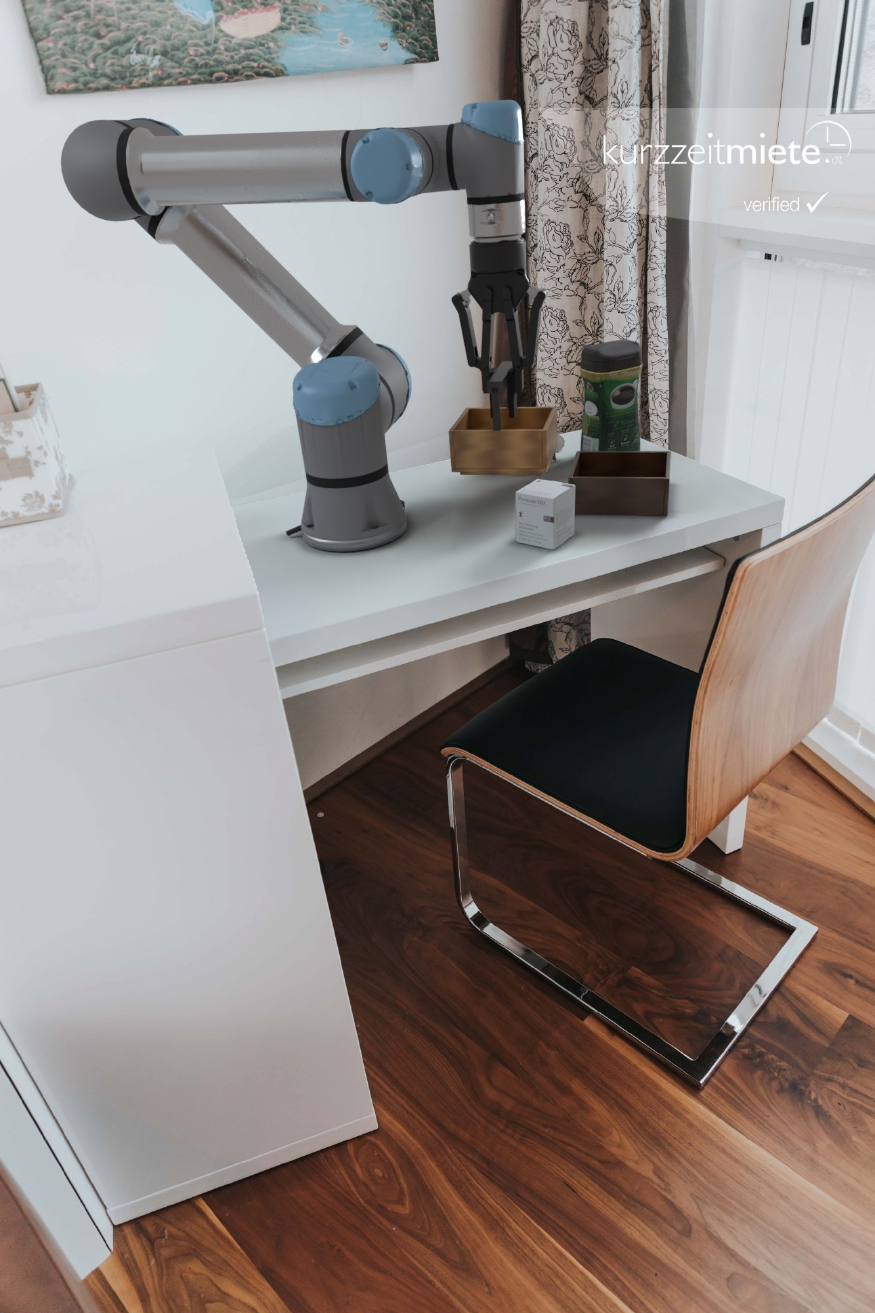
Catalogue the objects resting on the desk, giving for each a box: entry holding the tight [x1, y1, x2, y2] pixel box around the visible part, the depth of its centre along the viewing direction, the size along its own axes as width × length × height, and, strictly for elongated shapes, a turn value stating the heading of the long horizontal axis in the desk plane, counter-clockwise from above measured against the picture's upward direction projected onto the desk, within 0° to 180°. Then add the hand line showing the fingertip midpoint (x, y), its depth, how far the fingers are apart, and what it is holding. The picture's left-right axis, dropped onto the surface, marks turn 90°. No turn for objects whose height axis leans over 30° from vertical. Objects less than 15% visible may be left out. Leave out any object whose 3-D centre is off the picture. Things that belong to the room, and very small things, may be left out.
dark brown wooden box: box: [567, 450, 672, 517], centre depth 130 cm, size 14×12×6 cm
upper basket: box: [448, 360, 558, 476], centre depth 129 cm, size 14×12×14 cm
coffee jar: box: [579, 338, 643, 451], centre depth 144 cm, size 10×8×19 cm
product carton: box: [515, 478, 576, 550], centre depth 119 cm, size 6×6×7 cm
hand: (504, 414), depth 129 cm, fingers closed on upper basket, 2 cm apart
